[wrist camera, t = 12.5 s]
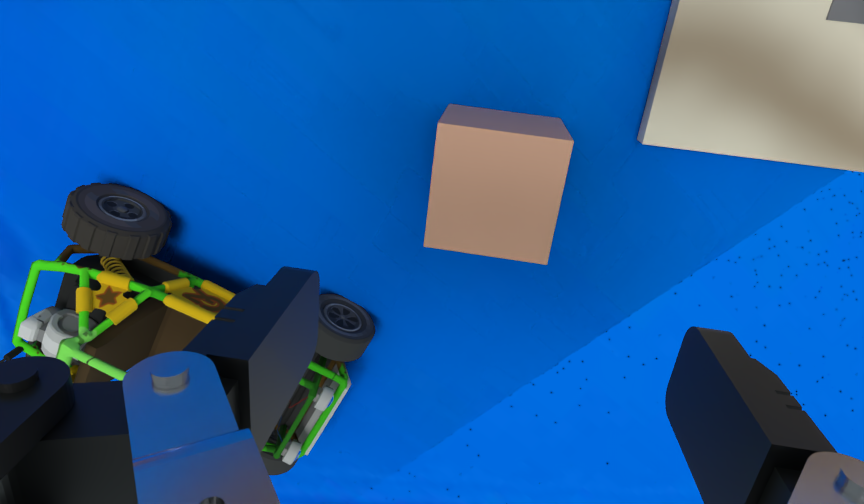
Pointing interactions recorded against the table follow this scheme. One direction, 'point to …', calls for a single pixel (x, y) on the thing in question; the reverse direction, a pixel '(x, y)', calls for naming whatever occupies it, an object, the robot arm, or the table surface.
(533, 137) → the terracotta cube
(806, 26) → the cream flat pad
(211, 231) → the table surface
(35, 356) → the robot arm
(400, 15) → the table surface
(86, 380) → the motor vehicle
